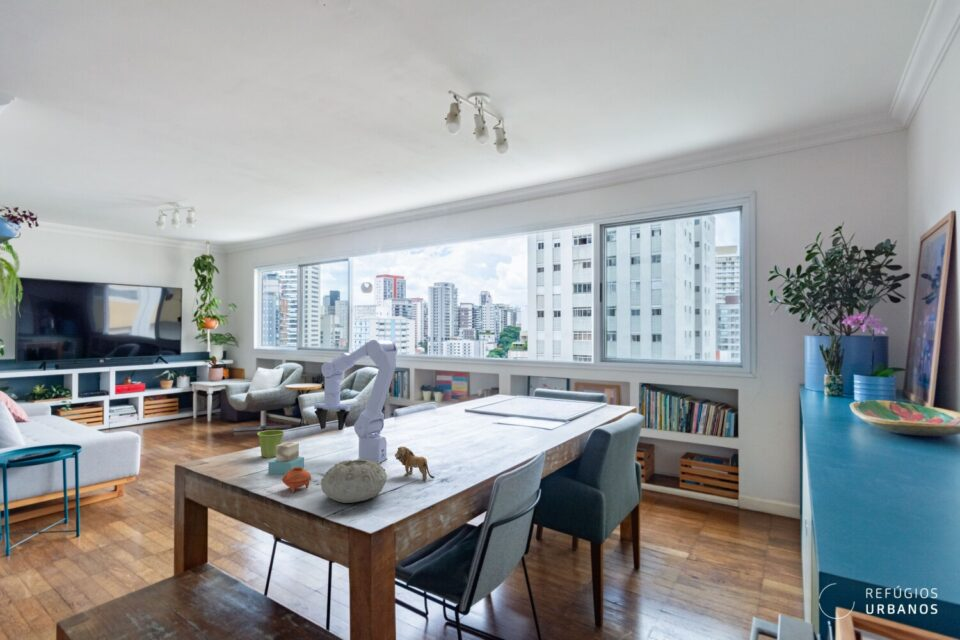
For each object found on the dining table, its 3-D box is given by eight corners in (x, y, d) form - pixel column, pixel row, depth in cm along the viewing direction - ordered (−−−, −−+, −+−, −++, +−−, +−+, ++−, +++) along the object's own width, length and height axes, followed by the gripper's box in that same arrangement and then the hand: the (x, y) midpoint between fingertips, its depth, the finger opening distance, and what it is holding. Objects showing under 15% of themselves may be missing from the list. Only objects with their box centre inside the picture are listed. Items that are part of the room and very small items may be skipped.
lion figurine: (392, 475, 154) (392, 447, 155) (402, 471, 159) (402, 444, 159) (429, 482, 148) (429, 453, 148) (439, 477, 152) (439, 449, 152)
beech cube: (298, 458, 161) (298, 443, 161) (288, 461, 156) (288, 446, 156) (286, 456, 162) (286, 442, 162) (275, 460, 157) (276, 445, 158)
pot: (308, 481, 146) (309, 461, 145) (311, 495, 140) (313, 474, 138) (280, 484, 143) (281, 463, 141) (282, 498, 136) (283, 477, 135)
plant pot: (285, 451, 183) (285, 429, 183) (283, 458, 174) (283, 434, 175) (258, 453, 180) (258, 430, 181) (255, 460, 171) (255, 435, 172)
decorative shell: (307, 500, 131) (307, 464, 131) (355, 483, 146) (356, 450, 146) (353, 514, 122) (354, 474, 122) (399, 494, 137) (400, 459, 137)
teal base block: (303, 468, 162) (304, 456, 162) (290, 475, 154) (291, 463, 154) (282, 467, 163) (282, 455, 164) (268, 474, 156) (268, 462, 156)
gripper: (309, 393, 179) (308, 429, 179) (343, 395, 175) (342, 432, 175) (320, 391, 186) (320, 426, 186) (353, 392, 182) (353, 428, 182)
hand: (331, 429), depth 181 cm, fingers open, 7 cm apart
